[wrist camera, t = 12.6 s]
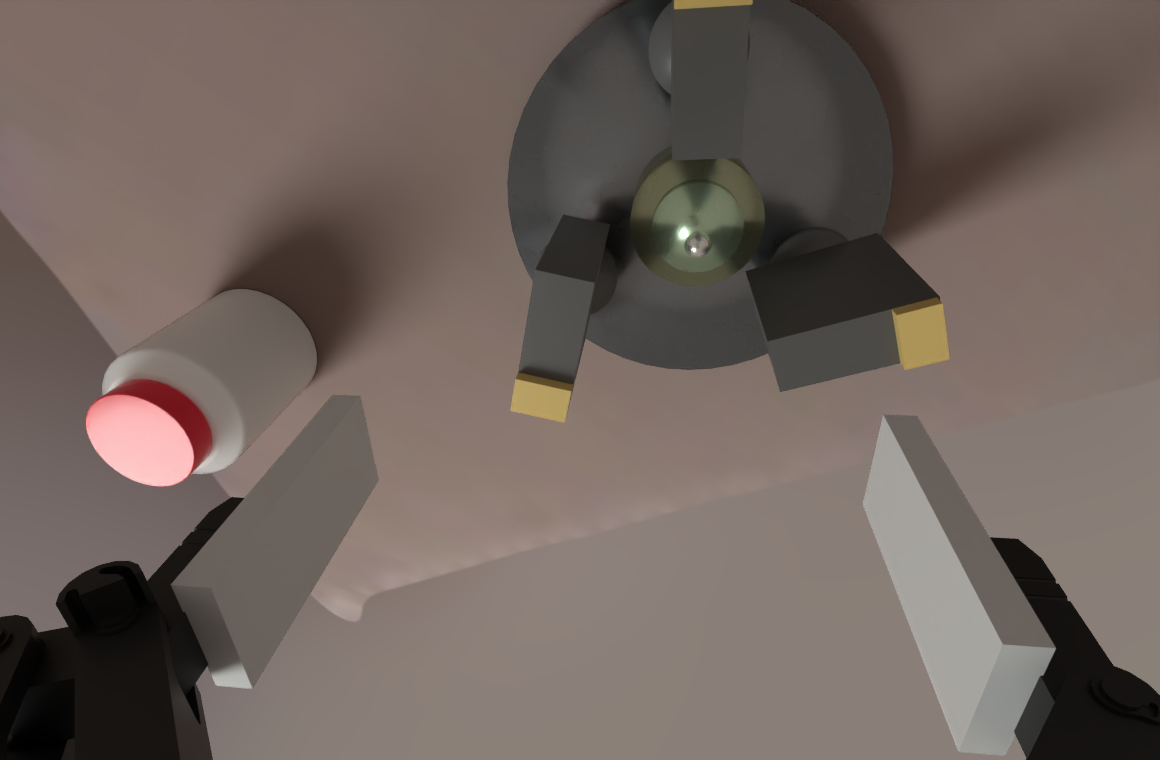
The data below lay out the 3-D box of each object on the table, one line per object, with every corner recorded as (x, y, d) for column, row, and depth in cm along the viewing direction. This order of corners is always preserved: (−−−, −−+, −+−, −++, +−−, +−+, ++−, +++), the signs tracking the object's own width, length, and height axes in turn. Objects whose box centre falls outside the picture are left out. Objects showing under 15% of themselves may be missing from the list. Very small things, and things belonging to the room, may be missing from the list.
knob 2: (743, 120, 31) (773, 160, 23) (649, 124, 32) (643, 164, 23) (752, -41, 28) (790, -64, 20) (648, -33, 29) (641, -53, 20)
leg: (758, 323, 36) (787, 419, 28) (738, 248, 34) (764, 325, 26) (883, 290, 35) (954, 381, 26) (869, 208, 33) (942, 277, 24)
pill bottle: (337, 338, 42) (240, 435, 32) (288, 419, 45) (186, 528, 35) (224, 263, 40) (85, 341, 30) (182, 352, 43) (45, 449, 34)
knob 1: (546, 205, 34) (507, 269, 26) (630, 224, 34) (618, 293, 26) (527, 317, 37) (487, 407, 29) (604, 334, 37) (587, 429, 29)
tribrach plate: (619, -102, 29) (607, -132, 23) (970, 113, 32) (1042, 136, 26) (460, 263, 38) (422, 309, 32) (744, 409, 41) (758, 477, 35)
